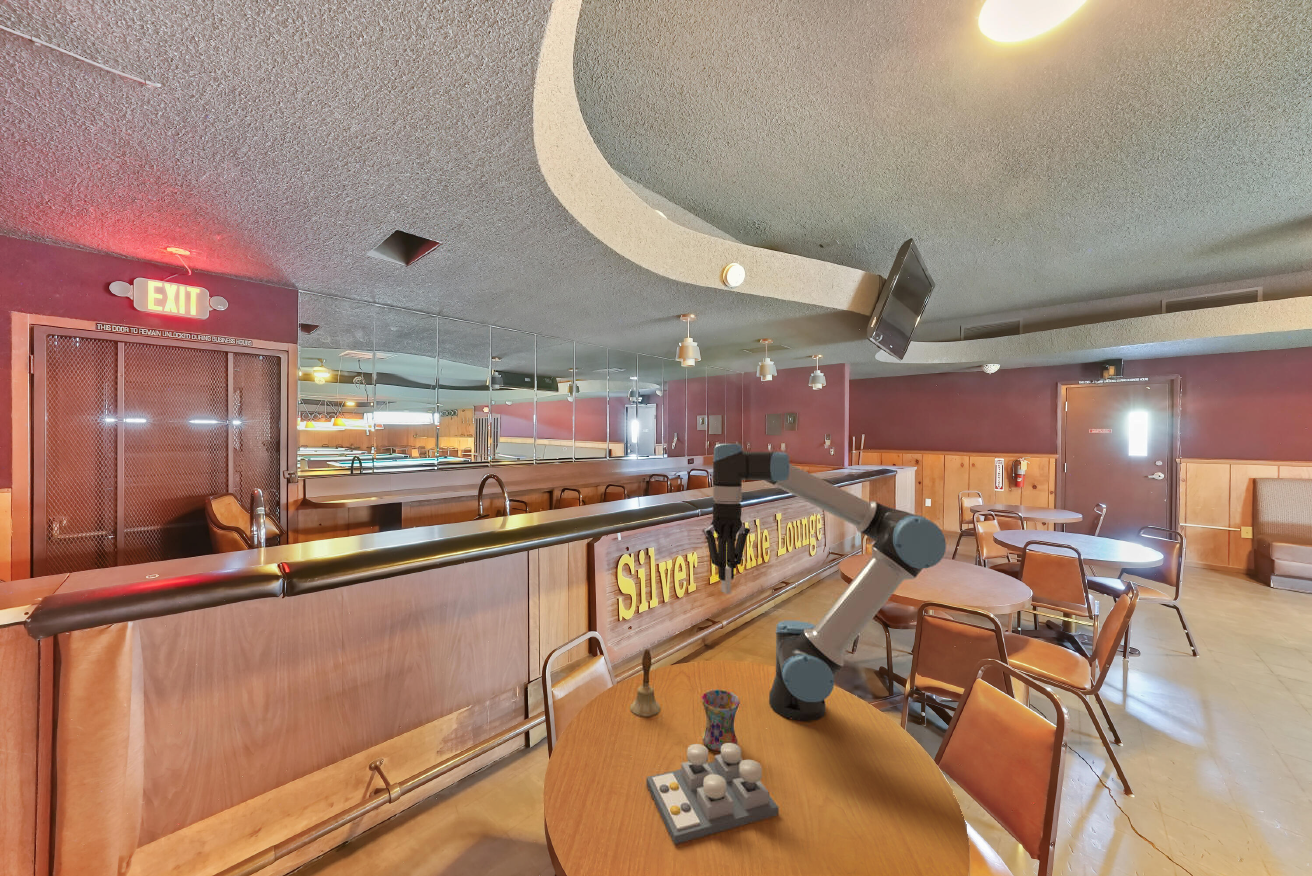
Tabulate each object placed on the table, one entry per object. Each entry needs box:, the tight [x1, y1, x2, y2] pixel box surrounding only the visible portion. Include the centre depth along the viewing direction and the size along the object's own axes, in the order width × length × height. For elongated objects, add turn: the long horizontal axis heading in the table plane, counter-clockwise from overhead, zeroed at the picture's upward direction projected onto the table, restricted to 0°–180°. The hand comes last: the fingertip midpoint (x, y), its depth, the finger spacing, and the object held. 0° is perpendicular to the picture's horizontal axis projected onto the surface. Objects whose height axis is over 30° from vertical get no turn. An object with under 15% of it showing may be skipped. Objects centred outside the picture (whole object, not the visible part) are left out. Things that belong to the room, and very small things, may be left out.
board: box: [646, 753, 780, 845], centre depth 95 cm, size 22×16×4 cm
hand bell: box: [629, 648, 661, 718], centre depth 128 cm, size 8×8×16 cm
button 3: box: [686, 743, 709, 773], centre depth 99 cm, size 4×4×4 cm
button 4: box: [703, 774, 726, 802], centre depth 91 cm, size 4×4×4 cm
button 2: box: [739, 759, 763, 790], centre depth 94 cm, size 4×4×4 cm
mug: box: [700, 689, 741, 752], centre depth 115 cm, size 12×9×11 cm
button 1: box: [720, 743, 742, 766], centre depth 101 cm, size 4×4×4 cm
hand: (725, 592), depth 122 cm, fingers closed
